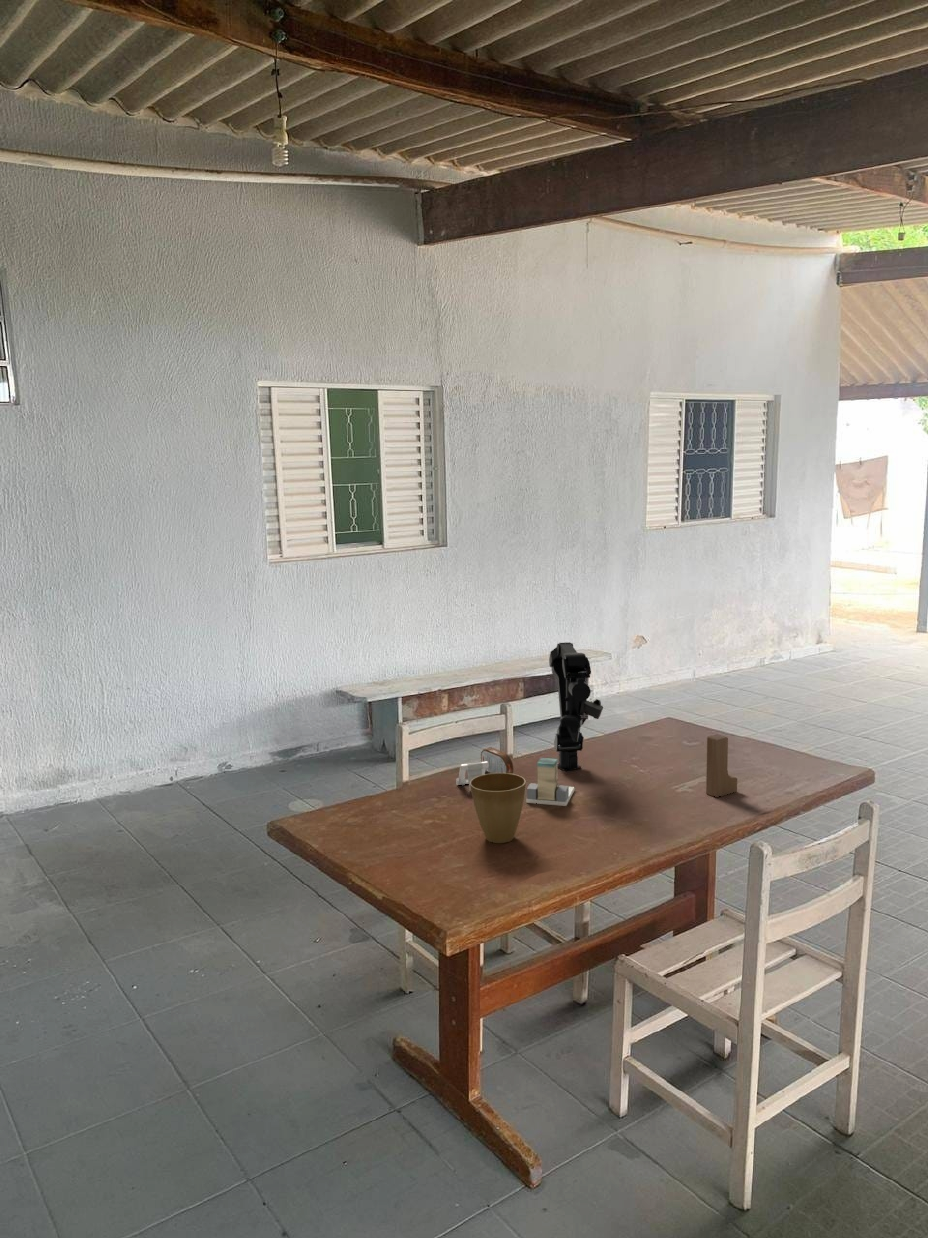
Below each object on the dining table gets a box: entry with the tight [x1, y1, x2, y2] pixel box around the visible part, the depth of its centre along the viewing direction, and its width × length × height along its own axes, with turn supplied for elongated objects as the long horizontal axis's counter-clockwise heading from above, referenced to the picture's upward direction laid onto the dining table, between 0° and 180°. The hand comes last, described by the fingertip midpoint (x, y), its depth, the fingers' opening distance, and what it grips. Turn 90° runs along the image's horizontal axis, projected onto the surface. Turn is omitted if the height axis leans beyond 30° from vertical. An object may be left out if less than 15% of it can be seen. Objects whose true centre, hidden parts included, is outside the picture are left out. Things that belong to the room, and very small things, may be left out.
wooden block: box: [705, 733, 738, 798], centre depth 277 cm, size 9×4×18 cm, turn 123°
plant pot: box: [470, 773, 527, 844], centre depth 247 cm, size 15×15×16 cm
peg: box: [536, 757, 559, 800], centre depth 274 cm, size 5×5×11 cm
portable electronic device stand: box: [455, 761, 489, 792], centre depth 289 cm, size 9×8×8 cm
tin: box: [480, 746, 514, 774], centre depth 300 cm, size 15×3×8 cm, turn 34°
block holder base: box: [525, 782, 575, 807], centre depth 279 cm, size 14×12×4 cm
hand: (575, 741), depth 290 cm, fingers closed
